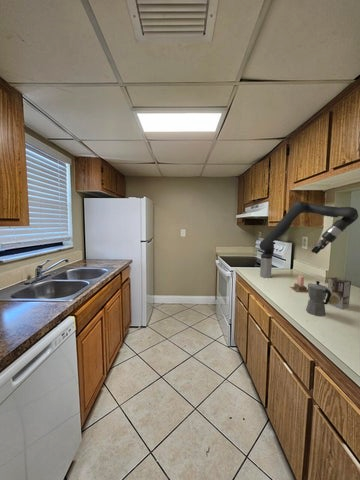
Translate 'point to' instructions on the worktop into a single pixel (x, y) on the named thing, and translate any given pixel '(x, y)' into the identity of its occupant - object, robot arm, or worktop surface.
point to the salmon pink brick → (300, 281)
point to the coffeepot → (317, 299)
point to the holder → (299, 288)
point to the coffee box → (339, 292)
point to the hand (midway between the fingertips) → (313, 252)
